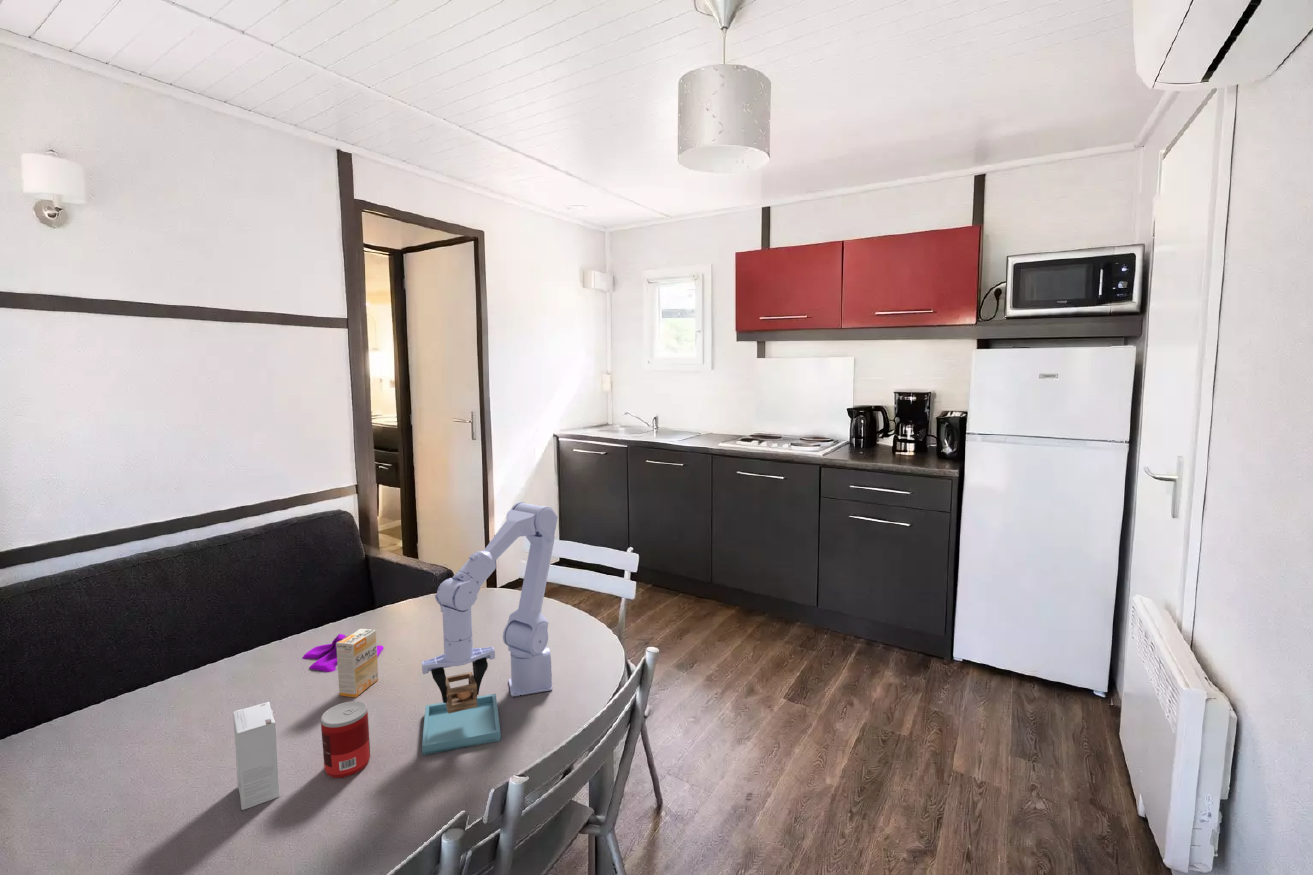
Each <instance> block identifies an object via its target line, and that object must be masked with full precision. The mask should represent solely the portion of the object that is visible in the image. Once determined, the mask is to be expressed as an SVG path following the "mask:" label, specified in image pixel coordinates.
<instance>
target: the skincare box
mask: <svg viewBox="0 0 1313 875" xmlns="http://www.w3.org/2000/svg"><path fill="white" fill-rule="evenodd" d="M232 716H233V729H234V745H235V761H236V780H237V783H236V784H237V788H238V791H239V797H240V810H241V811H244V810H247V809H250V808H253V807H255V806H258V805H260V804H263V803H267V802H269V801H272V800H274V799H277V798H279V797H280V783H279V782H280V780H279V764H278V763H279V761H278V749H277V748H278V747H277V746H278V745H277V729H276V728H277V726H276V721H275V718H274V711H273V709H272V708H271V703H270V701H267V702H262V703H258V704H256V705H252V706H249V707H245V708H242V709H237V710H235V711H233V714H232Z"/></svg>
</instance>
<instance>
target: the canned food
mask: <svg viewBox="0 0 1313 875" xmlns="http://www.w3.org/2000/svg"><path fill="white" fill-rule="evenodd" d="M320 725H321V726H320V728H321V729H320V730H321V742H322V743H321V744H322V755H323V768H324V770H325V771H324V772H325V773H326V775H327V776H328V777H330V778H334V779H335V778H336V779H342V778H346V777H351V776H352V775H355V774H357V773H359V772H360V771H362V770H363V769H365V767H366V766H367V765H368V763H369V762H370V758H371V746H370V745H371V744H370V728H369V712H368V705H367V704H366V703H365V702H363V701H358V700H354V701H353V700H351V701H345V702H342V703H339V704H335V705H334V706H332V707H330V708H329V709H327V710H326V711H324V712H323V714H322V715H321V717H320Z"/></svg>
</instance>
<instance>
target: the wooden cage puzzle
mask: <svg viewBox="0 0 1313 875" xmlns="http://www.w3.org/2000/svg"><path fill="white" fill-rule="evenodd" d="M463 680H468V684H465V685H459V686H456V687H451V685H450V683H454V682H458V681H459V682H460V681H463ZM469 690H471V691H472V694H471V696H470V698H469V699H468V700H465V701H461V700H459V699H458V697H457V693H461V692H465V691H469ZM446 695H447V703H445V704H446V707H447V711H448V714H449V713H454V712H458V711H462V710H466V709H470V708H474V707H477V697H478V695H477V684H476V681H475V679H474V676H473V671H469V672H465V673H464V672H463V673H460V674H459V673H458V674H454V675H450V676H446Z"/></svg>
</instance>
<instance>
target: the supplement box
mask: <svg viewBox="0 0 1313 875" xmlns="http://www.w3.org/2000/svg"><path fill="white" fill-rule="evenodd" d="M377 646H378V645H377V630H376V629H370V628H369V629H368V628H359V629H357V630H355V631H354V632H352V633H350V634H349V635H347V636H346V637H345V638H344V639H342V640H340V641H339V642H337V643H336V647H337V663H338V665H337V675H338V676H337V677H338V691H339V693H338V694H339V696H341V697H348V698H349V697H350V698H357V697H358V696H359V695H361V694H362V693H363V692H364V691H365V690H367V689H368V688H370V687H372V685H373V684H375V683H376V682H378V681H379V667H378V658H377Z"/></svg>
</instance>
